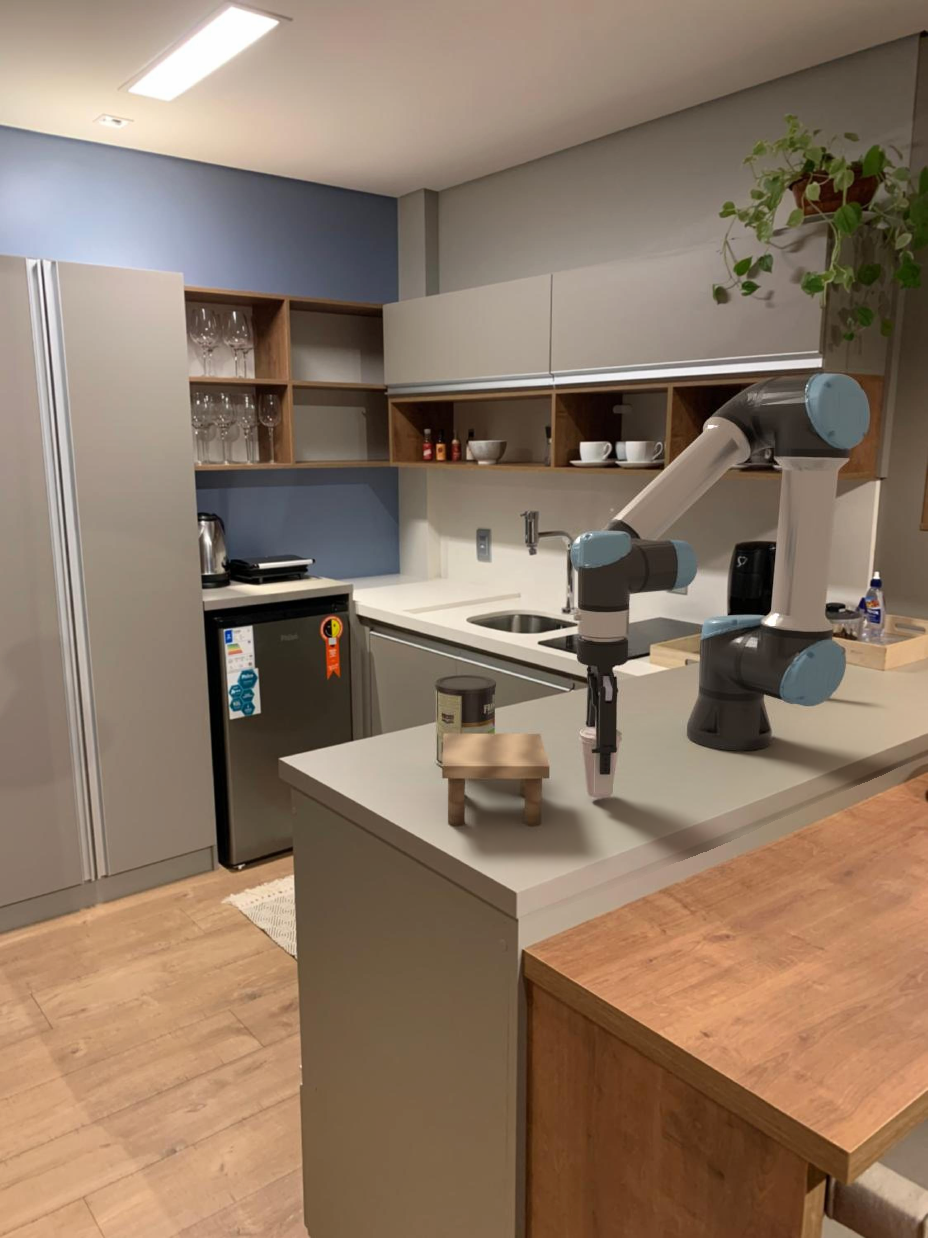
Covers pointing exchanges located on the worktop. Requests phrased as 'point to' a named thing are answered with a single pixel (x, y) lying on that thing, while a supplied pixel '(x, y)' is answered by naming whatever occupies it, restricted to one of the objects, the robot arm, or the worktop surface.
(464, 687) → the coffee can
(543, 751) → the tan square-topped part
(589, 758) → the smoothie
